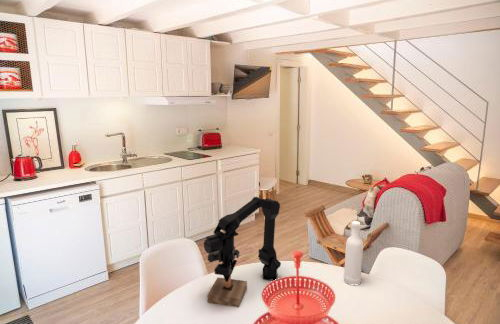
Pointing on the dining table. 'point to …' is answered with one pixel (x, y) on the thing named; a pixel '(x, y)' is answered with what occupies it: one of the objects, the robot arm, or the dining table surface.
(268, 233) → the robot arm
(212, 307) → the dining table surface
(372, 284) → the dining table surface
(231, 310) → the dining table surface
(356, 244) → the bottle
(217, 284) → the hole block
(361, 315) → the dining table surface
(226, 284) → the peg
